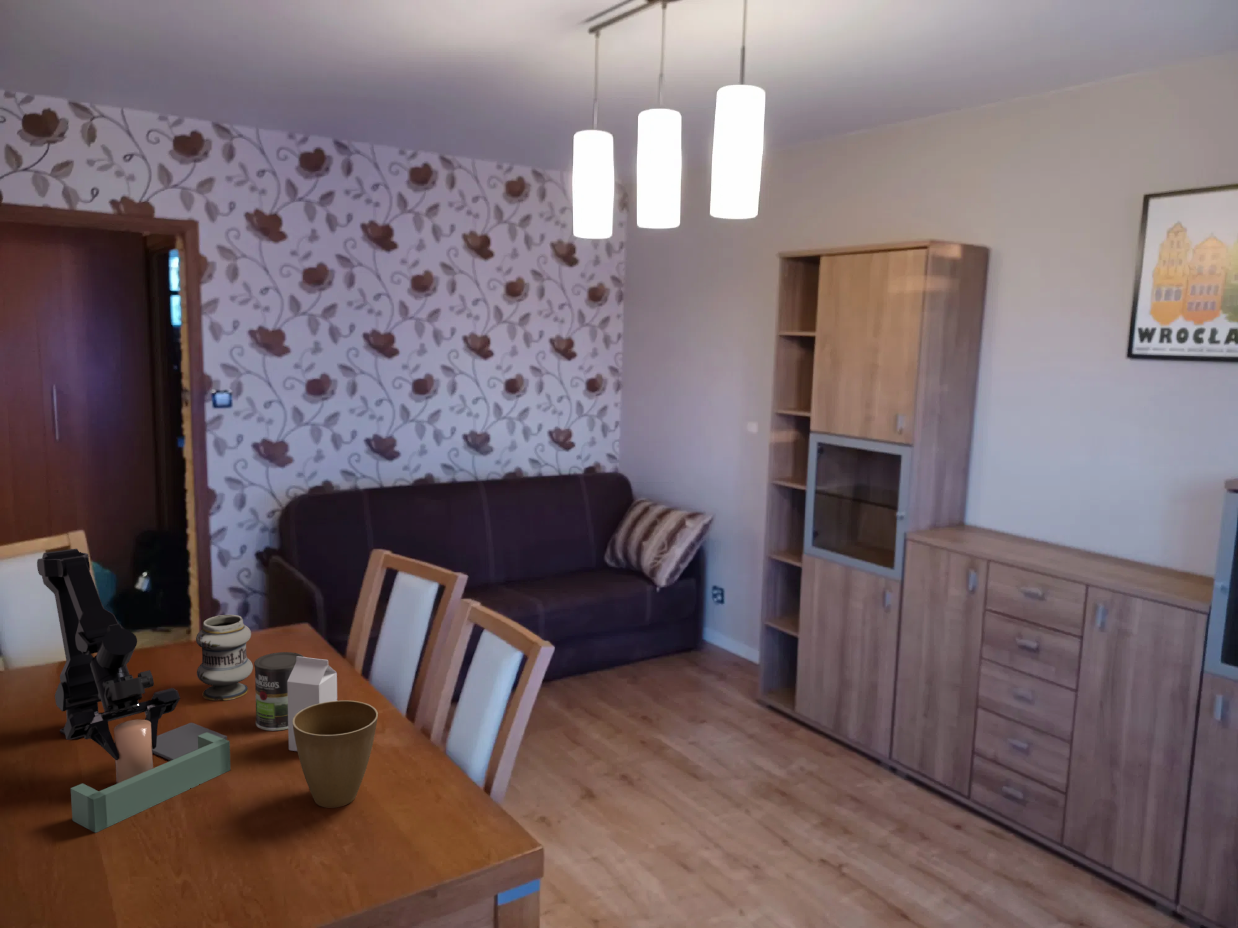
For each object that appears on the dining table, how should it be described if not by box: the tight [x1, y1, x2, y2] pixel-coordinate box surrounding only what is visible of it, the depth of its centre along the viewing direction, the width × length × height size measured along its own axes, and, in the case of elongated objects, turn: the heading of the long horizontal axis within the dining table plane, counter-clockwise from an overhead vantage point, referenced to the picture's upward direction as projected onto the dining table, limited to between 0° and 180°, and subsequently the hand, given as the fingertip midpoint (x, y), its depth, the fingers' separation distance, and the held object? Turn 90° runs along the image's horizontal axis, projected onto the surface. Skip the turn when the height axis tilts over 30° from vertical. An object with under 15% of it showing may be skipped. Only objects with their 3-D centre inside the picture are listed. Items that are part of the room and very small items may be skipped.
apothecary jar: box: [195, 614, 254, 702], centre depth 204 cm, size 12×12×18 cm
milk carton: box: [287, 656, 338, 752], centre depth 179 cm, size 7×7×19 cm
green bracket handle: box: [70, 732, 231, 834], centre depth 159 cm, size 7×26×6 cm, turn 150°
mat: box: [152, 722, 228, 761], centre depth 180 cm, size 12×12×1 cm
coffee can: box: [253, 651, 305, 732], centre depth 190 cm, size 10×10×14 cm
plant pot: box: [292, 699, 379, 809], centre depth 159 cm, size 15×15×16 cm
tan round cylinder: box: [113, 719, 154, 784], centre depth 162 cm, size 6×6×12 cm
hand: (136, 753), depth 161 cm, fingers closed on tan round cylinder, 6 cm apart
